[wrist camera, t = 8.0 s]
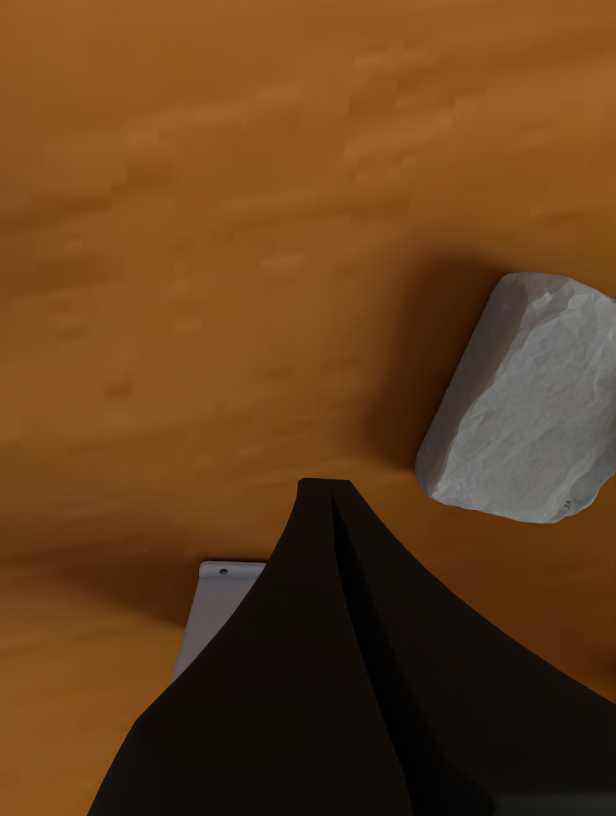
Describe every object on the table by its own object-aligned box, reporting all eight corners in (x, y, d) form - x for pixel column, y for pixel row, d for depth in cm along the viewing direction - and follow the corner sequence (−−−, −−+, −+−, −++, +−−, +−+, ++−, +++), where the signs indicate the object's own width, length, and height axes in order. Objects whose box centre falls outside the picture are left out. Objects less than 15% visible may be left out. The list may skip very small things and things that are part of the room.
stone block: (633, 307, 21) (488, 254, 17) (739, 333, 16) (575, 270, 13) (522, 483, 25) (391, 467, 22) (583, 538, 21) (433, 529, 18)
